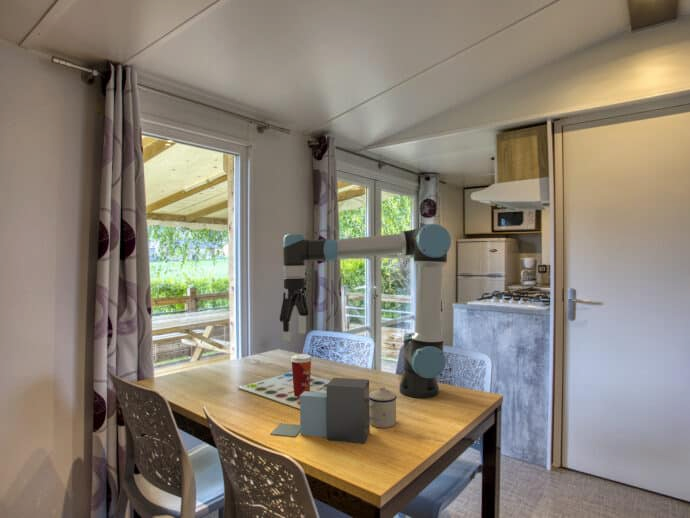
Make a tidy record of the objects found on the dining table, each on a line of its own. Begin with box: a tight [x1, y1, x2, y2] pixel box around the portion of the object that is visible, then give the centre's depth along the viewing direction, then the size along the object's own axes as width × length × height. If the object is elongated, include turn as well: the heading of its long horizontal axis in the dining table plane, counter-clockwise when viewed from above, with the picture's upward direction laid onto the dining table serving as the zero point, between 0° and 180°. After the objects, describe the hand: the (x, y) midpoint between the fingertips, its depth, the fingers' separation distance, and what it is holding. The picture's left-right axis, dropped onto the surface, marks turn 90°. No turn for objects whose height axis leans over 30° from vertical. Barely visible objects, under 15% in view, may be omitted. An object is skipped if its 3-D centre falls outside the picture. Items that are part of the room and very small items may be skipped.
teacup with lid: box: [369, 385, 397, 429], centre depth 134 cm, size 12×9×12 cm
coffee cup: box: [290, 353, 313, 397], centre depth 163 cm, size 8×8×15 cm
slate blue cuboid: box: [299, 391, 327, 438], centre depth 127 cm, size 14×4×12 cm, turn 76°
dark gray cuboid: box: [323, 377, 371, 445], centre depth 126 cm, size 12×8×16 cm, turn 76°
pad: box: [270, 422, 301, 438], centre depth 130 cm, size 8×8×1 cm
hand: (295, 336), depth 150 cm, fingers open, 13 cm apart
